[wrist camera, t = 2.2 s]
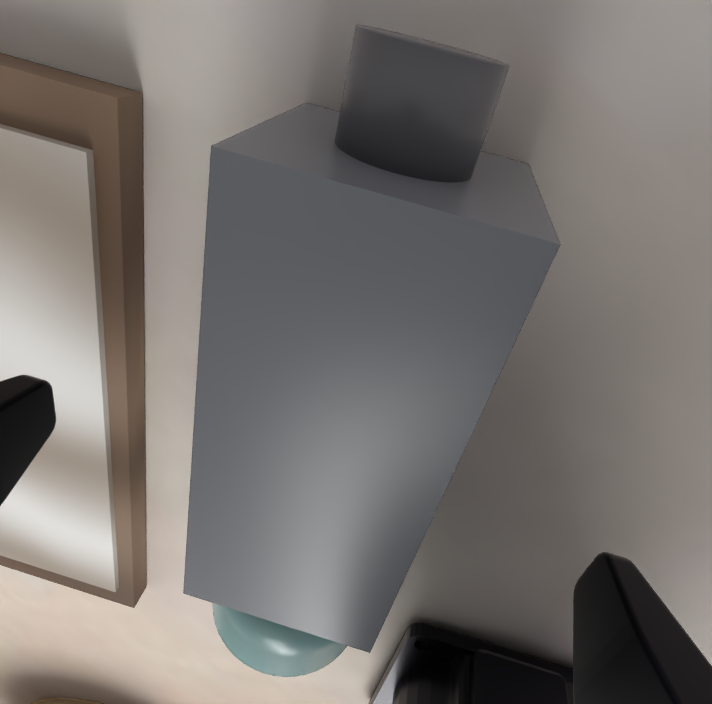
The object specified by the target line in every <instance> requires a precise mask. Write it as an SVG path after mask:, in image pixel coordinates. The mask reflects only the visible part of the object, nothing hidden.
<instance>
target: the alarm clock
mask: <svg viewBox="0 0 712 704" xmlns="http://www.w3.org/2000/svg"><path fill="white" fill-rule="evenodd" d="M32 704H103V703H100V702H94V701H88V700H82V699H76V698H70V697H59V698H42V699H40V700H38V701H36V702H34V703H32Z"/></svg>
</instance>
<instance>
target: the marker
mask: <svg viewBox="0 0 712 704" xmlns="http://www.w3.org/2000/svg"><path fill="white" fill-rule="evenodd" d="M508 68H509V65H507V64H505V63H502V62H499V61H497V60H494V59H490V58H487V57H484V56H481V55H478V54H474V53H471V52H468V51H464V50H461V49H457V48H454V47H450V46H446V45H443V44H439V43H435V42H431V41H428V40H424V39H420V38H416V37H412V36H408V35H404V34H400V33H396V32H392V31H387V30H383V29H378V28H373V27H368V26H362V25H356V29H355V35H354V40H353V45H352V51H351V56H350V61H349V67H348V72H347V77H346V83H345V88H344V93H343V99H342V104H341V109H340V112H338V111H334V110H330V109H327V108H323V107H320V106H316V105H312V104H309V103H304V104H302V105H300V106H297V107H295V108H293V109H291V110H289V111H287V112H284V113H282V114H280V115H278V116H276V117H273V118H271V119H269V120H267V121H265V122H262V123H260V124H258V125H256V126H254V127H252V128H249V129H247V130H245V131H243V132H241V133H238V134H236V135H234V136H232V137H230V138H228V139H225V140H223V141H221V142H219V143H217V144H214V145H212V146H211V157H210V173H209V189H208V205H207V221H206V238H205V254H204V270H203V286H202V302H201V318H200V334H199V350H198V366H197V382H196V398H195V415H194V431H193V447H192V463H191V479H190V495H189V511H188V527H187V543H186V559H185V575H184V592H183V593H184V594H187V595H190V596H193V597H196V598H200V599H203V600H206V601H209V602H212V603H213V615H214V620H215V624H216V627H217V630H218V633H219V635H220V636H221V638H222V640H223V642H224V643H225V645H226V646H227V648H228V649H229V650H230V651H231V652H232V653H233V654H234V656H235V657H236V658H238V659H239V660H240V661H242V662H243V663H244V664H246V665H247V666H249V667H251V668H253V669H255V670H257V671H260V672H262V673H265V674H269V675H273V676H282V677H292V676H300V675H306V674H309V673H312V672H315V671H317V670H319V669H321V668H323V667H325V666H326V665H328V664H329V663H331V662H332V661H334V660H335V659H336V658H337V657H338V656H339V655H340V654H341V653H342V652H343V650H344V649H345V648H346V647H347V646H350V647H353V648H356V649H360V650H363V651H366V652H369V653H370V652H371V649H372V647H373V645H374V643H375V641H376V639H377V637H378V634H379V632H380V630H381V628H382V626H383V624H384V622H385V619H386V617H387V615H388V613H389V611H390V609H391V607H392V604H393V602H394V600H395V598H396V596H397V594H398V592H399V589H400V587H401V585H402V583H403V581H404V579H405V577H406V574H407V572H408V570H409V568H410V566H411V564H412V562H413V559H414V557H415V555H416V553H417V551H418V549H419V547H420V544H421V542H422V540H423V538H424V536H425V534H426V532H427V529H428V527H429V525H430V523H431V521H432V519H433V517H434V514H435V512H436V510H437V508H438V506H439V504H440V502H441V499H442V497H443V495H444V493H445V491H446V489H447V487H448V484H449V482H450V480H451V478H452V476H453V474H454V471H455V469H456V467H457V465H458V463H459V461H460V459H461V456H462V454H463V452H464V450H465V448H466V446H467V444H468V441H469V439H470V437H471V435H472V433H473V431H474V429H475V426H476V424H477V422H478V420H479V418H480V416H481V414H482V411H483V409H484V407H485V405H486V403H487V401H488V399H489V396H490V394H491V392H492V390H493V388H494V386H495V384H496V381H497V379H498V377H499V375H500V373H501V371H502V369H503V366H504V364H505V362H506V360H507V358H508V356H509V354H510V351H511V349H512V347H513V345H514V343H515V341H516V339H517V336H518V334H519V332H520V330H521V328H522V326H523V324H524V321H525V319H526V317H527V315H528V313H529V311H530V309H531V306H532V304H533V302H534V300H535V298H536V296H537V294H538V291H539V289H540V287H541V285H542V283H543V281H544V279H545V276H546V274H547V272H548V270H549V268H550V266H551V264H552V261H553V259H554V257H555V255H556V253H557V251H558V249H559V246H560V242H559V239H558V237H557V234H556V232H555V229H554V227H553V224H552V222H551V219H550V217H549V214H548V212H547V209H546V206H545V204H544V201H543V199H542V196H541V194H540V191H539V189H538V186H537V184H536V181H535V179H534V176H533V174H532V171H531V168H530V166H529V164H526V163H522V162H519V161H515V160H511V159H508V158H504V157H500V156H497V155H493V154H490V153H486V152H482V151H481V148H482V145H483V142H484V139H485V136H486V133H487V130H488V127H489V124H490V121H491V118H492V115H493V112H494V109H495V107H496V104H497V101H498V98H499V95H500V92H501V89H502V86H503V83H504V80H505V77H506V74H507V71H508Z"/></svg>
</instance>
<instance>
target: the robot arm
mask: <svg viewBox="0 0 712 704" xmlns="http://www.w3.org/2000/svg"><path fill="white" fill-rule="evenodd" d="M55 424H56V412H55V404H54V397H53V389H52V386H51V385H50V383H49V382H48V381H46V380H43V379H39V378H36V377H33V376H30V375H19V376H15V377H12V378H9V379H6V380H3V381H0V506H1V505H2V503H3V502H4V501H5V499H6V498H7V497H8V495H9V494H10V492H11V491H12V489H13V488H14V487H15V485H16V484H17V482H18V481H19V479H20V478H21V477H22V475H23V474H24V472H25V471H26V469H27V468H28V467H29V465H30V464H31V462H32V461H33V460H34V458H35V457H36V455H37V454H38V452H39V451H40V450H41V448H42V447H43V445H44V444H45V442H46V441H47V440H48V438H49V437H50V435H51V434H52V432H53V430H54V428H55ZM369 704H712V666H711V664H710V663H709V662H708V661H707V659H706V658H705V657H704V655H703V654H702V653H701V651H700V650H699V649H698V647H697V646H696V645H695V643H694V642H693V641H692V640H691V638H690V637H689V636H688V634H687V633H686V632H685V630H684V629H683V628H682V626H681V625H680V624H679V623H678V621H677V620H676V619H675V617H674V616H673V615H672V613H671V612H670V611H669V609H668V608H667V607H666V605H665V604H664V603H663V602H662V600H661V599H660V598H659V596H658V595H657V594H656V592H655V591H654V590H653V588H652V587H651V586H650V585H649V583H648V582H647V581H646V579H645V578H644V577H643V575H642V574H641V573H640V571H639V570H638V569H637V567H636V566H635V565H634V564H633V563H632V562H631V561H630V560H628V559H626V558H623V557H620V556H617V555H614V554H610V553H607V552H603V553H600V554H598V555H597V556H596V558H595V559H594V560H593V562H592V563H591V564H590V565H589V567H588V568H587V569H586V570H585V572H584V573H583V574H582V576H581V577H580V578H579V579H578V581H577V583H576V585H575V589H574V597H573V670H572V669H568V668H565V667H562V666H559V665H556V664H553V663H549V662H546V661H543V660H540V659H537V658H534V657H530V656H527V655H524V654H521V653H518V652H515V651H511V650H508V649H505V648H502V647H499V646H496V645H492V644H489V643H486V642H483V641H480V640H477V639H473V638H470V637H467V636H464V635H461V634H458V633H454V632H451V631H448V630H445V629H442V628H439V627H435V626H432V625H429V624H424V623H415V624H412V625H410V626H409V627H408V629H407V631H406V633H405V635H404V637H403V638H402V640H401V642H400V644H399V646H398V648H397V650H396V652H395V654H394V656H393V658H392V660H391V662H390V663H389V665H388V667H387V669H386V671H385V673H384V675H383V677H382V679H381V681H380V683H379V685H378V687H377V688H376V690H375V692H374V694H373V696H372V698H371V700H370V702H369Z"/></svg>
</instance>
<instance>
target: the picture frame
mask: <svg viewBox="0 0 712 704" xmlns="http://www.w3.org/2000/svg"><path fill="white" fill-rule="evenodd" d="M19 375H30V376H33V377H36V378H39V379H43V380H46V381H48V382H49V383H50V385H51V386H52V389H53V397H54V404H55V412H56V424H55V428H54V430H53V432H52V434H51V435H50V437H49V438H48V440H47V441H46V442H45V444H44V445H43V447H42V448H41V450H40V451H39V452H38V454H37V455H36V457H35V458H34V460H33V461H32V462H31V464H30V465H29V467H28V468H27V469H26V471H25V472H24V474H23V475H22V477H21V478H20V479H19V481H18V482H17V484H16V485H15V487H14V488H13V489H12V491H11V492H10V494H9V495H8V497H7V498H6V499H5V501H4V502H3V503H2V505H1V506H0V565H2V566H5V567H8V568H11V569H15V570H18V571H21V572H24V573H27V574H30V575H33V576H36V577H39V578H42V579H46V580H49V581H52V582H55V583H58V584H61V585H64V586H67V587H70V588H74V589H77V590H80V591H83V592H86V593H89V594H92V595H95V596H98V597H101V598H105V599H108V600H111V601H114V602H117V603H120V604H123V605H126V606H129V607H133V608H134V607H135V605H136V604H137V602H138V600H139V599H140V597H141V595H142V593H143V592H144V590H145V588H146V480H145V360H144V241H143V121H142V93H141V92H137V91H134V90H130V89H127V88H123V87H120V86H116V85H112V84H109V83H105V82H102V81H98V80H94V79H91V78H87V77H84V76H80V75H77V74H73V73H69V72H66V71H62V70H59V69H55V68H51V67H48V66H44V65H41V64H37V63H34V62H30V61H26V60H23V59H19V58H16V57H12V56H8V55H5V54H1V53H0V381H3V380H6V379H9V378H12V377H15V376H19Z"/></svg>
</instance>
